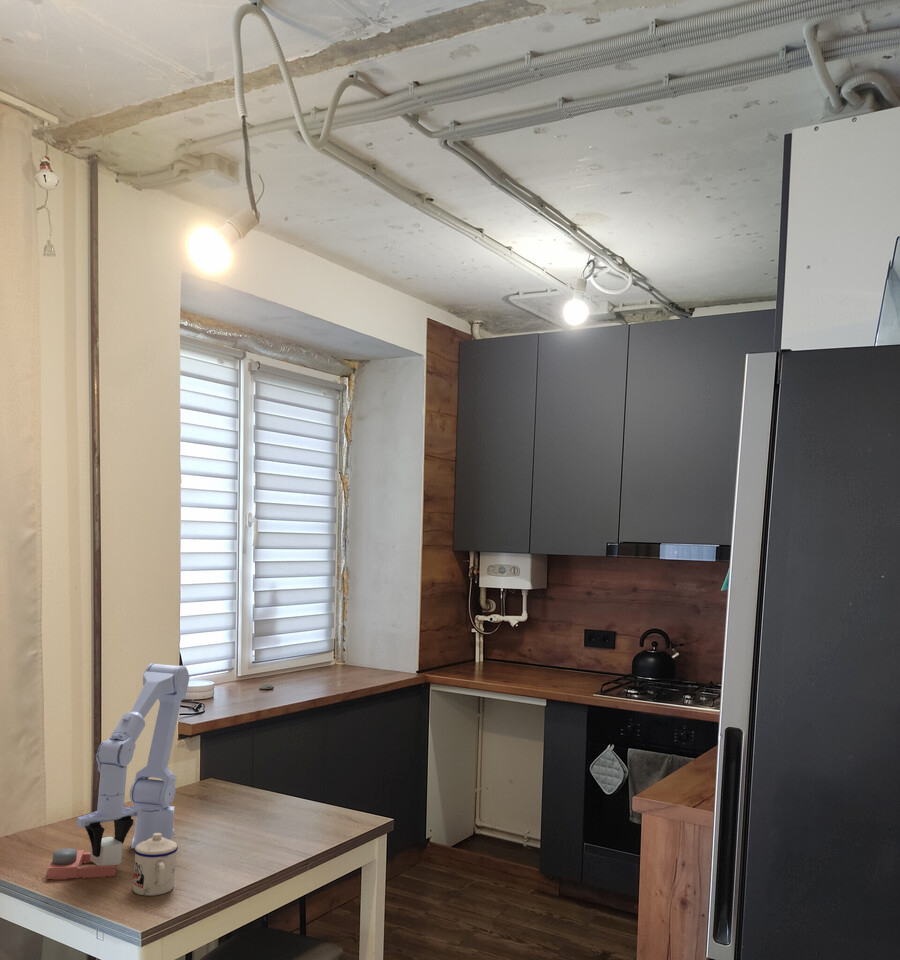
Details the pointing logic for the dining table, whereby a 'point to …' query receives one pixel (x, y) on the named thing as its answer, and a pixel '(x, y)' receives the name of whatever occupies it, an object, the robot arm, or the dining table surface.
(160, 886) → the teacup with lid
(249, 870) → the dining table surface
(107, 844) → the white rectangular block
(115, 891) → the dining table surface
